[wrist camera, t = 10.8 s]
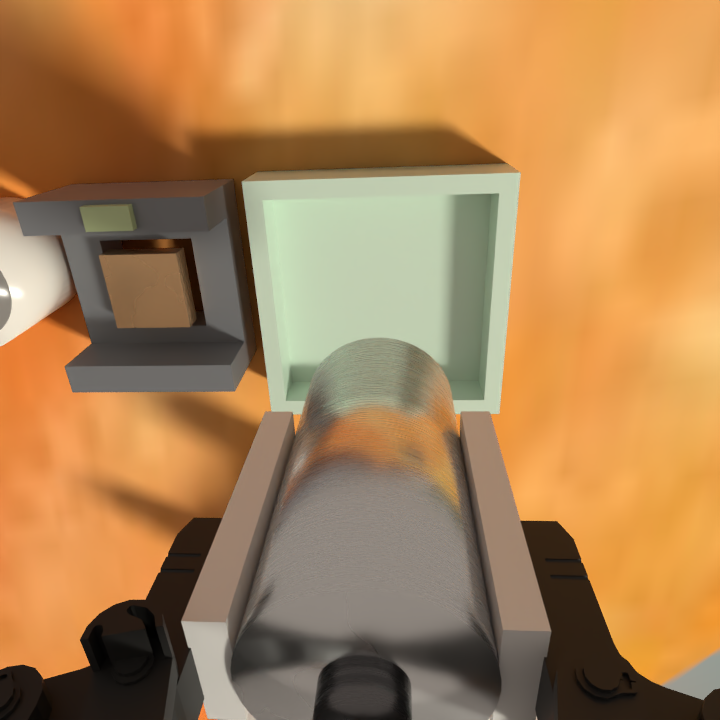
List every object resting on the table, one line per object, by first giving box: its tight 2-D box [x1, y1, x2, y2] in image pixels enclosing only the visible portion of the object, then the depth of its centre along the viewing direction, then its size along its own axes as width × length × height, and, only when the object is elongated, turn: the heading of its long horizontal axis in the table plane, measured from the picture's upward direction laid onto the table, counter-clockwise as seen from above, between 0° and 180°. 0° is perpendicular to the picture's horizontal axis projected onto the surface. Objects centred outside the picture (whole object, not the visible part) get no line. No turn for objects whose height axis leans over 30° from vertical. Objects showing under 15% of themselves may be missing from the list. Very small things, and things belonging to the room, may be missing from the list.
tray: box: [242, 163, 521, 414], centre depth 27 cm, size 12×12×3 cm
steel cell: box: [231, 337, 501, 720], centre depth 13 cm, size 5×5×10 cm
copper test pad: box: [99, 248, 197, 328], centre depth 26 cm, size 4×4×1 cm
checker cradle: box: [13, 179, 257, 392], centre depth 26 cm, size 8×9×5 cm
